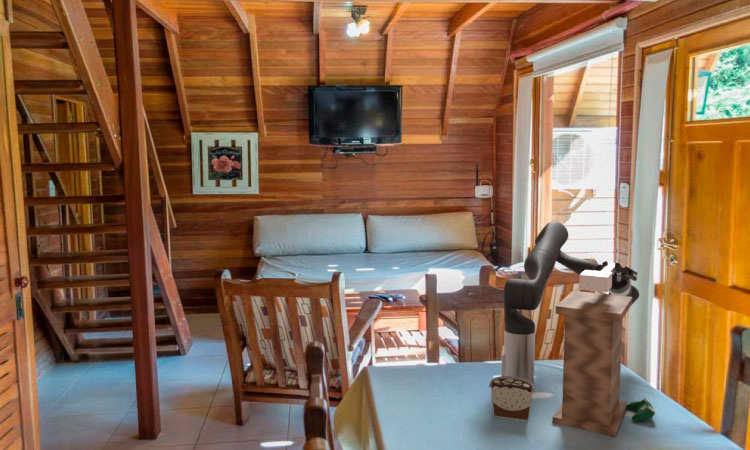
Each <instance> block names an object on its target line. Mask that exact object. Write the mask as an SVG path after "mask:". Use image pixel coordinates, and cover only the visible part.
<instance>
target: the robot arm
mask: <svg viewBox="0 0 750 450" xmlns="http://www.w3.org/2000/svg"><path fill="white" fill-rule="evenodd" d="M568 240H569V231H568V228H567V227H566V226H565V225H564V224H562V223H561V222H558V221H550V222H548V223H547V224H545V226H543V228H542V229H541V231H540V232H539V233H538V234H537V236H536V237H535V239H534V243H535V245H534V246H533V247H532V249H531V250H530V251H529V253H528V255H527V257H526V258H525V260H524V263H523V269H524V272H525V275H526V276H527V279H523V278H507V280H506V281H505V283H504V286H503V313H504V314H503V317H504V318H503V320H504V321H503V322H504V335H503V336H504V337H503V338H504V339H503V340H504V342H503V343H504V344H503V349H504V350H503V353H502V354H501V371H500V373H501V374H500V375H501V376H516V377H521V378H524V379H527V380H529V381H530V382H532V384H533V386H534V385H535V384H534V383H535V355H536V354H535V352H536V351H535V350H536V323H535V322H534V321H533V320H532V319H530V318H528V317H526V316H525V315H523V314H522V313H521V312H520V311H519V310H522V311H535V310H537V309H538V307H539V306H540V304H541V301H542V299H543V295H544V291H545V288H546V284H547V282H548V281H549V278H550V277H551V274H552V273H553V270H554V268H555V266H556V265H555V264H556V263H558V264H560V265H562V266H564V267H565V268H567V269H569V270H571V271H572V272H573V273H575V274H576V275H578V276H579V277H580V274H581V273H582V272H583V271H585V270H592V271H601V270H602V269H603V268H604V267H605V266H607V265H608V263H609V262H608V260H604V261H603V262H602V263H601V264H600V263H599V264H598V263H597V262H594V261H592V260H589V259H584V258H577V257H574V256H570V255H569V254H566V253H565V252H563V251H562V250H561V249H562V247H563V246H564V245H565V243H567V241H568ZM614 263H615V270H616V272H615V273H614V274H613V275H612V287H611V288H610V289H609V291H608V294H609V295H618V296H628V297H632V305H633V304H634V303H635V302H636V301H637V300H638V299H639V297H640V292H639V289H638V288H637V287H635V286H634V285H633V284H631V283H632V282H631V280H632V281H634V282H636V281H637V280H638V272H637V271H635V270H633V268H630V267H628V266H624V267H623V265H621V263H620V262H618V261H615V262H614ZM534 387H535V386H534Z"/></svg>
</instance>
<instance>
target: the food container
mask: <svg viewBox="0 0 750 450" xmlns="http://www.w3.org/2000/svg"><path fill="white" fill-rule="evenodd" d="M489 388H490V391H491V405H492V412H493V413H492V415H493V417H496V418H503V419H509V420H517V421H524V422H525V421H526V422H529V421H530V413H531V405H532V400H533V393H534V394H536V391H535V386H533V384H532V382H530V381H529V380H527V379H524V378H521V377H516V376H497V377H494V378H492V379H491V380H490V381H489V385H488V389H489Z"/></svg>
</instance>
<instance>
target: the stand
mask: <svg viewBox="0 0 750 450" xmlns="http://www.w3.org/2000/svg"><path fill="white" fill-rule="evenodd" d="M632 306H633V304H632V297H628V296H618V295H609V293H607V294H606V293H598V292H596V293H595V292H589V291H577V290H572V291H571V292H570V293H569V294H568V295H566V296H565V297H564V298H563V299H562V300H561V301H559V303H557V304H556V306H555V314H557V315H564V336H563V337H564V338H563V339H564V340H563V342H564V343H563V365H562V366H563V370H562V371H563V372H562V373H563V374H562V398H561V399H562V401H561V404H560V405H559V406H558V408H557V410H556V411H555V412H554V414H553V415H552V417H551V418H552V419H551V421H552V423H553V424H557V425H562V426H566V427H571V428H575V429H580V430H584V431H589V432H593V433H598V434H603V435H608V436H612V437H617V434H618V433H619V429H620V426H621V424H622V422H623V420H624V417H625V414H626V413H627V410H628V409H627V405H628V404H629V402H628V401H625V400H620V389H621V384H620V383H621V369H622V367H621V364H622V363H621V362H622V347H623V346H622V345H623V344H622V343H623V342H622V341H623V337H622V336H623V319H624V318H625V315H626V314H627V313H628V311H629V309H630V308H631V307H632Z"/></svg>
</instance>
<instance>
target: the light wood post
mask: <svg viewBox="0 0 750 450" xmlns="http://www.w3.org/2000/svg"><path fill="white" fill-rule="evenodd" d="M615 272H616V270H615V262H608V265H607V266H605V267H604V268H603V269H602V270H601V271H592V270H585V271H583V272H582V273H581V274H580V276H579V282H578V284H579V287H578V289H579V290H582V291H588V292H589V291H591V292H601V293H609V289H610V288H611V287H612V275H613V274H614V273H615Z"/></svg>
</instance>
